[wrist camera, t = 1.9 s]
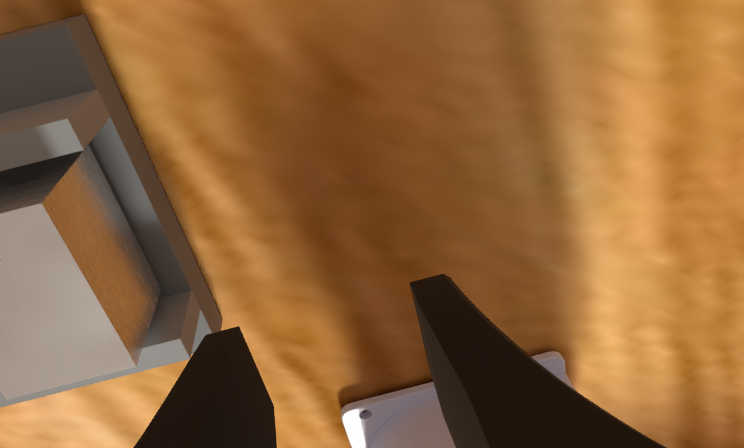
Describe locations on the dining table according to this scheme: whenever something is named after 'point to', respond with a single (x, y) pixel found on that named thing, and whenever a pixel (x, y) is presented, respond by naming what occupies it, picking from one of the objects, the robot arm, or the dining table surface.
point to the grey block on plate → (68, 277)
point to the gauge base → (118, 163)
